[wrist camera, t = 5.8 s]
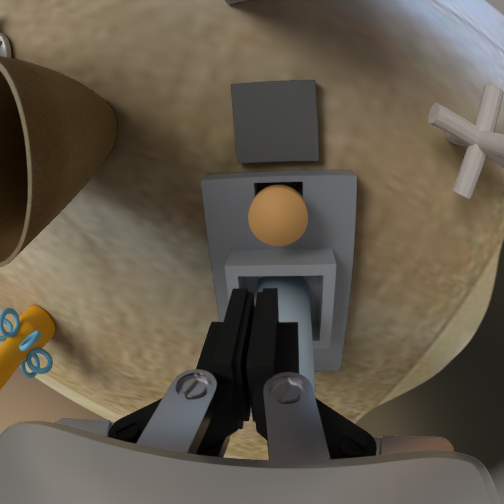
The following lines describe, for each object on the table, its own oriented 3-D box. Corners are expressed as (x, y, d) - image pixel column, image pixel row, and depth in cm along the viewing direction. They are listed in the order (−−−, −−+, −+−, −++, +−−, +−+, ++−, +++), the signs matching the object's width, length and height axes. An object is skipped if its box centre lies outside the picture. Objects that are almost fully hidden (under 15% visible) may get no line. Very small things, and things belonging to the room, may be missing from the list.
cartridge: (254, 269, 29) (230, 375, 17) (309, 269, 28) (318, 377, 16) (257, 313, 31) (239, 422, 19) (308, 313, 30) (312, 423, 18)
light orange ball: (252, 178, 26) (245, 190, 22) (304, 176, 26) (307, 188, 22) (256, 226, 28) (250, 246, 24) (305, 225, 27) (308, 245, 23)
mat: (232, 85, 24) (230, 84, 23) (314, 81, 23) (315, 80, 22) (239, 161, 27) (237, 163, 26) (318, 159, 26) (318, 160, 25)
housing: (207, 174, 28) (189, 188, 23) (351, 170, 26) (365, 183, 21) (231, 356, 37) (223, 389, 32) (337, 356, 35) (342, 390, 30)
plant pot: (46, 68, 24) (-69, 74, 10) (161, 62, 24) (42, 32, 9) (40, 191, 31) (-60, 246, 16) (143, 210, 30) (43, 294, 16)
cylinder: (76, 321, 39) (19, 393, 25) (68, 358, 43) (23, 422, 29) (17, 275, 37) (-46, 331, 23) (16, 317, 41) (-34, 371, 28)
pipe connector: (394, 160, 25) (442, 187, 16) (423, 65, 21) (481, 50, 12) (472, 199, 25) (529, 237, 16) (500, 113, 21) (565, 124, 12)
